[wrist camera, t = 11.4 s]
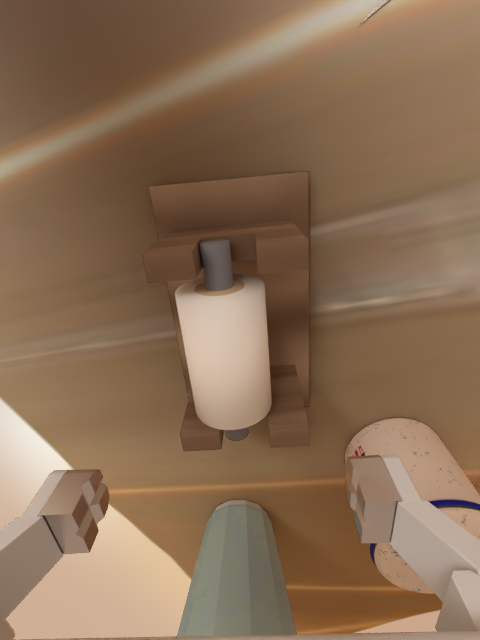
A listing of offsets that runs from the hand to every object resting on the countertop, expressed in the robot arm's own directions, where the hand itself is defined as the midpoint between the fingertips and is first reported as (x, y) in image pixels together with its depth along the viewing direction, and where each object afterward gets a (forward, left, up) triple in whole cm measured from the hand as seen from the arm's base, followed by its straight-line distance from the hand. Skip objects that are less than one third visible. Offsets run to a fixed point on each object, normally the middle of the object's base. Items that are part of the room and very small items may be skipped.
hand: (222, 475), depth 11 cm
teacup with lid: (+17, +13, -16) cm, 27 cm away
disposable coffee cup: (+24, -2, -16) cm, 29 cm away
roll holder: (0, 0, -16) cm, 16 cm away
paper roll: (+1, -1, -10) cm, 10 cm away
